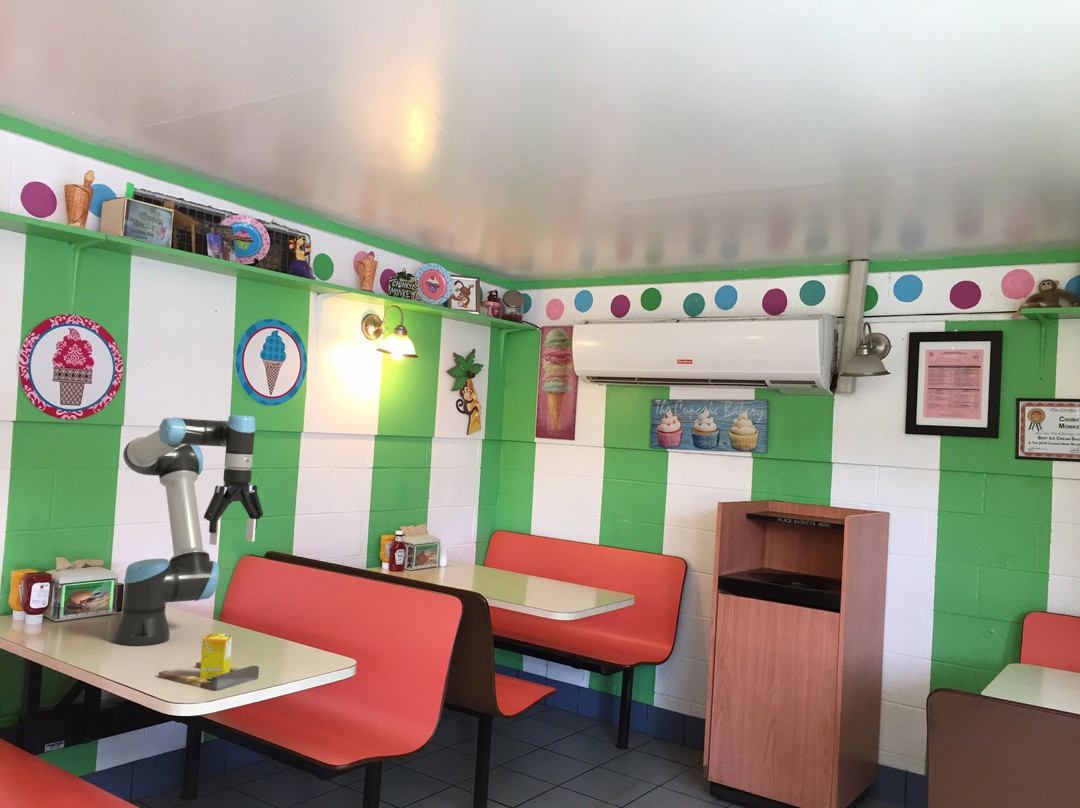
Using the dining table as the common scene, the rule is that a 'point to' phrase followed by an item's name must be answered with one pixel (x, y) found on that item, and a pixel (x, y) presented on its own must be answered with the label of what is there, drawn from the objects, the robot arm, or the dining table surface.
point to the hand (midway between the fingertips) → (232, 542)
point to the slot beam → (216, 678)
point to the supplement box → (215, 655)
